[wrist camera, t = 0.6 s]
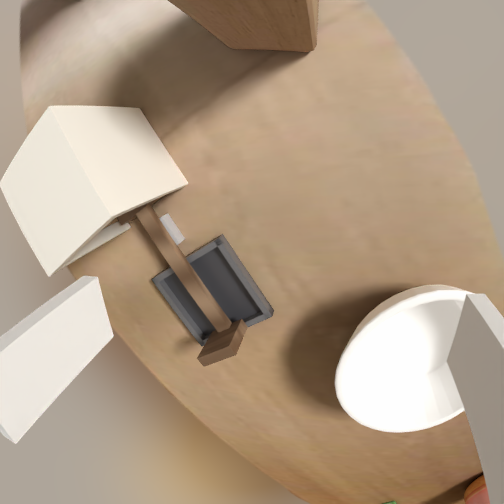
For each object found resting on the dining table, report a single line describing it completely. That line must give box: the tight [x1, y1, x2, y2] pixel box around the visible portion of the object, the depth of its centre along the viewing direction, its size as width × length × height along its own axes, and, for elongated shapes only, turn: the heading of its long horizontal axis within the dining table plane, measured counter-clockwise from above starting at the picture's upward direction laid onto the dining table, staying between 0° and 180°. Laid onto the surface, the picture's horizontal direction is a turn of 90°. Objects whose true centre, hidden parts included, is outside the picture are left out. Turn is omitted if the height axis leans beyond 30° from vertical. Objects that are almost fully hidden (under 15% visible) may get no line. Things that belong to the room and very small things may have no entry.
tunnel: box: [0, 106, 188, 277], centre depth 32 cm, size 18×12×16 cm
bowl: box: [335, 285, 474, 432], centre depth 35 cm, size 22×22×8 cm
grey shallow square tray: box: [152, 234, 274, 346], centre depth 42 cm, size 12×12×2 cm
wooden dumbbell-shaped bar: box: [117, 196, 247, 366], centre depth 38 cm, size 21×7×8 cm, turn 33°
